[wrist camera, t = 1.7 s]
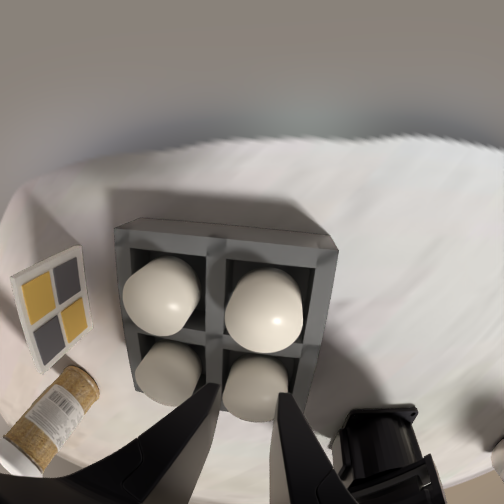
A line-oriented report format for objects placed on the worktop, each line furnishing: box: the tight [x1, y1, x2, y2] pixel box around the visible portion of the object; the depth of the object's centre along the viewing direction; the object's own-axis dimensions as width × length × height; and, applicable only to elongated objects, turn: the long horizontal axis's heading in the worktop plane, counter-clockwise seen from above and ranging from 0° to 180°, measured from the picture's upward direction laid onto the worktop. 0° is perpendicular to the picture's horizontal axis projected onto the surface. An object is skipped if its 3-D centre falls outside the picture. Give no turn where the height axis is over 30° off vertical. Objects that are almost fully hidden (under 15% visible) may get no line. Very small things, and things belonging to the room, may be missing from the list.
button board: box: [114, 218, 339, 413], centre depth 18 cm, size 12×12×3 cm
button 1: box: [222, 353, 288, 422], centre depth 16 cm, size 4×4×2 cm
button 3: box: [135, 339, 202, 406], centre depth 16 cm, size 4×4×2 cm
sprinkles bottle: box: [0, 366, 100, 477], centre depth 17 cm, size 5×5×14 cm
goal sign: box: [10, 245, 93, 375], centre depth 17 cm, size 1×7×7 cm, turn 176°
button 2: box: [225, 267, 303, 353], centre depth 14 cm, size 4×4×2 cm
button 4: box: [123, 256, 201, 336], centre depth 15 cm, size 4×4×2 cm
